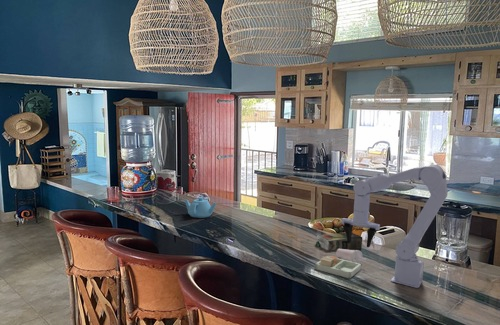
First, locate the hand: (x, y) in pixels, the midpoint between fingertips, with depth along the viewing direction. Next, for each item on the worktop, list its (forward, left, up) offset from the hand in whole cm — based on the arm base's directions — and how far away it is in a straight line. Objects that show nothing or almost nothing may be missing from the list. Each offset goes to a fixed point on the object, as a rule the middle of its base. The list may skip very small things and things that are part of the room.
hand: (358, 244), depth 153 cm
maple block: (+8, +10, -9) cm, 16 cm away
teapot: (+102, -22, -10) cm, 105 cm away
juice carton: (+16, -22, -10) cm, 29 cm away
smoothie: (+10, -6, -7) cm, 14 cm away
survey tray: (+5, +7, -10) cm, 13 cm away
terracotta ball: (+8, +5, -9) cm, 13 cm away
